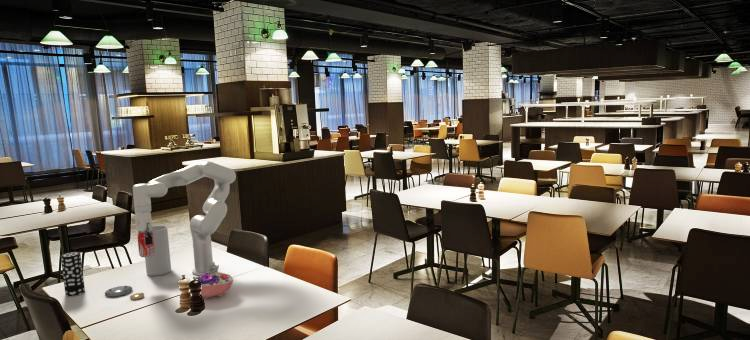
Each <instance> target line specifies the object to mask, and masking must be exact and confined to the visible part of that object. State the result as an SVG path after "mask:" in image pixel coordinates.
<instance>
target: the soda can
mask: <svg viewBox="0 0 750 340" xmlns="http://www.w3.org/2000/svg"><path fill="white" fill-rule="evenodd" d="M146 231H147V230H146ZM147 233H148V232H147ZM136 237H137V246H138V247H137V248H138V255H139V256H140V257H141V258H145V257H150V256H153V255H154V253H155V250H154V240H153V233H152V242H153V243H152V244H149V245H146V243H145V237H146V236H145V232H140V231H138V230H137V234H136Z"/></svg>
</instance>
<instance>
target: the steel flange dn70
mask: <svg viewBox="0 0 750 340" xmlns="http://www.w3.org/2000/svg"><path fill="white" fill-rule="evenodd" d="M132 292H133V286H130V285H120V286H119V285H118V286H115V287H111V288H109V289H107V290H105V292H104V296H105V297H106V298H119V297H123V296H126V295H129V294H130V293H132Z"/></svg>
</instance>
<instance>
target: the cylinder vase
mask: <svg viewBox="0 0 750 340" xmlns="http://www.w3.org/2000/svg"><path fill="white" fill-rule="evenodd" d="M152 230H153V231H152V233H153V240H154V250H155V253H154V255H153V256H150V257H144V260H145V263H144V264H145V269H146V270H145V271H146V274H147V276H150V277H156V276H157V277H158V276H162V275H167V274H168V273H170V272H171V271H172V263H171V254H170V242H169V231H168V226H167V225H152Z"/></svg>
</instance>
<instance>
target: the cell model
mask: <svg viewBox="0 0 750 340" xmlns="http://www.w3.org/2000/svg"><path fill="white" fill-rule="evenodd" d="M195 278H196V279H198V280H199V281H201V283H202V289H201V295H202V296H203V297H202V298H213V297H222V296H224V295H225V294H227V293H228V292H229V291H230V289H231V287H232V285H233V282H234V277H232V276H231V274H228V273H223V272H219V273H218V272H217V273H210V274H208V273H203V274H202V275H197V276H196V277H195Z"/></svg>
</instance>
